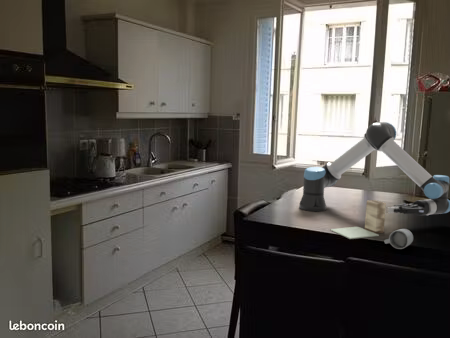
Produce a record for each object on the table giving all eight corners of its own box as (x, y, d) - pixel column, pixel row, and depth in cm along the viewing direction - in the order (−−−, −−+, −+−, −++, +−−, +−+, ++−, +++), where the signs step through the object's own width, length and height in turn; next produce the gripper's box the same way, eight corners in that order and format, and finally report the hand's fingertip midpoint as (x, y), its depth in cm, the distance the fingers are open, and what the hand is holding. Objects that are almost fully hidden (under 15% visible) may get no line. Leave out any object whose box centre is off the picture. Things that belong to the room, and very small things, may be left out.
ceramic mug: (413, 246, 168) (415, 228, 167) (407, 251, 162) (408, 232, 161) (387, 241, 175) (388, 224, 174) (380, 245, 168) (382, 227, 168)
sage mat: (357, 227, 194) (357, 226, 194) (378, 235, 181) (379, 234, 181) (330, 230, 188) (330, 229, 188) (350, 239, 175) (350, 237, 175)
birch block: (372, 228, 193) (375, 200, 191) (383, 232, 187) (386, 203, 185) (364, 229, 191) (366, 200, 189) (375, 233, 185) (377, 203, 183)
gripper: (434, 218, 194) (397, 221, 185) (412, 211, 206) (376, 214, 197) (436, 202, 193) (398, 205, 184) (414, 197, 205) (377, 199, 196)
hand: (387, 210), depth 190 cm, fingers closed
